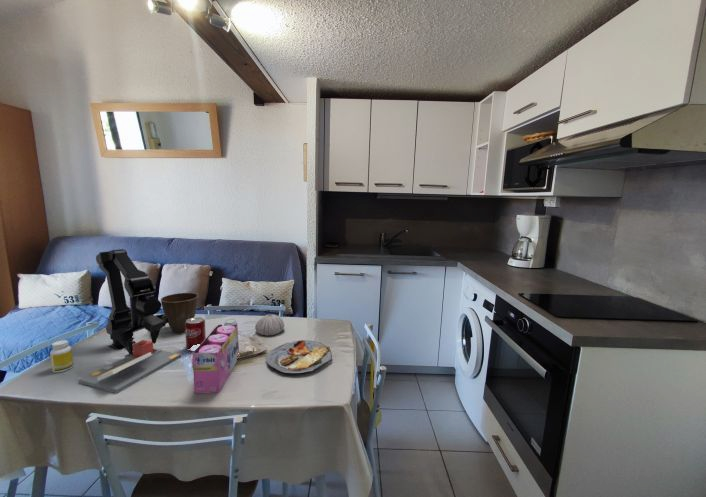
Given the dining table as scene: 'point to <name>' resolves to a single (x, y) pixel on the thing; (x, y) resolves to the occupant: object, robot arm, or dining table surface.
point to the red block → (142, 348)
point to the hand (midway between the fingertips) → (142, 348)
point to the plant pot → (179, 309)
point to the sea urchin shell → (269, 325)
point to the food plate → (299, 356)
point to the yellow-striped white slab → (123, 366)
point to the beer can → (230, 322)
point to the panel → (128, 372)
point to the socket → (155, 352)
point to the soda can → (195, 331)
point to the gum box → (215, 359)
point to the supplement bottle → (61, 356)
